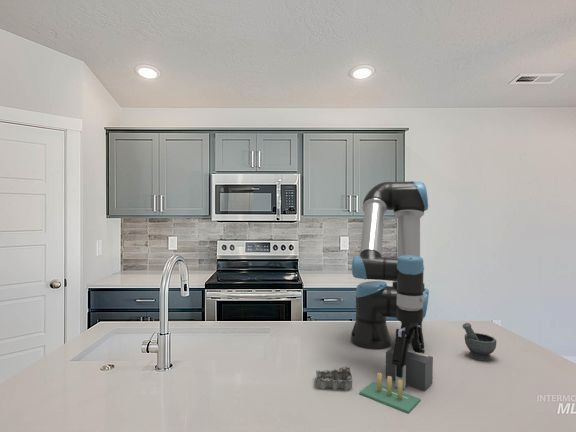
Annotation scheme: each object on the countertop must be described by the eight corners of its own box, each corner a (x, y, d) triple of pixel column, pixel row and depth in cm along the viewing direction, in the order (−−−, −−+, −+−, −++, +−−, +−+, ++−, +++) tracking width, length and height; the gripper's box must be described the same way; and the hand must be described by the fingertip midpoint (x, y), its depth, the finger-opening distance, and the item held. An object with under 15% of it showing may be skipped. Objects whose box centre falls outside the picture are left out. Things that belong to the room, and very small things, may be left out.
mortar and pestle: (485, 351, 129) (485, 318, 128) (502, 362, 119) (502, 327, 119) (455, 351, 128) (456, 319, 128) (470, 362, 119) (470, 327, 118)
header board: (359, 393, 97) (359, 373, 97) (373, 383, 103) (373, 364, 103) (408, 413, 88) (408, 391, 88) (420, 400, 94) (420, 380, 94)
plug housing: (385, 377, 107) (385, 351, 107) (394, 371, 112) (394, 345, 112) (425, 391, 99) (425, 362, 99) (432, 383, 104) (432, 356, 104)
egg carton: (351, 380, 106) (351, 366, 106) (353, 392, 99) (353, 378, 99) (316, 377, 107) (316, 364, 107) (315, 390, 100) (315, 375, 100)
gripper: (405, 318, 94) (404, 399, 94) (435, 302, 112) (434, 371, 112) (379, 313, 99) (378, 390, 99) (412, 298, 116) (411, 364, 117)
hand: (408, 380), depth 105 cm, fingers open, 11 cm apart
